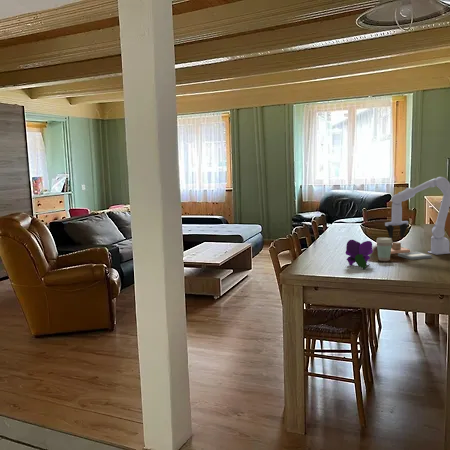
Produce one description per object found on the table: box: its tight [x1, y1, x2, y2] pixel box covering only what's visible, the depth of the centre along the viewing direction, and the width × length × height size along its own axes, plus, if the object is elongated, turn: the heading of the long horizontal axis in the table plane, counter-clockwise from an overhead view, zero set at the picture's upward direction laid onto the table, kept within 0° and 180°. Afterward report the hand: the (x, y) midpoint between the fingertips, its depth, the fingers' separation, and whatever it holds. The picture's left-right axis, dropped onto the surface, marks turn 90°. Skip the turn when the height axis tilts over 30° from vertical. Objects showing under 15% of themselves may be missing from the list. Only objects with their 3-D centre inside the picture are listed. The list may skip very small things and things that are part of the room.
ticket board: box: [397, 251, 433, 261], centre depth 261 cm, size 13×12×2 cm
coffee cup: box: [375, 236, 393, 262], centre depth 255 cm, size 8×8×12 cm
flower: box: [344, 239, 374, 270], centre depth 239 cm, size 15×15×14 cm
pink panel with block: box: [390, 241, 411, 255], centre depth 276 cm, size 13×8×6 cm, turn 105°
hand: (396, 237), depth 276 cm, fingers open, 7 cm apart
